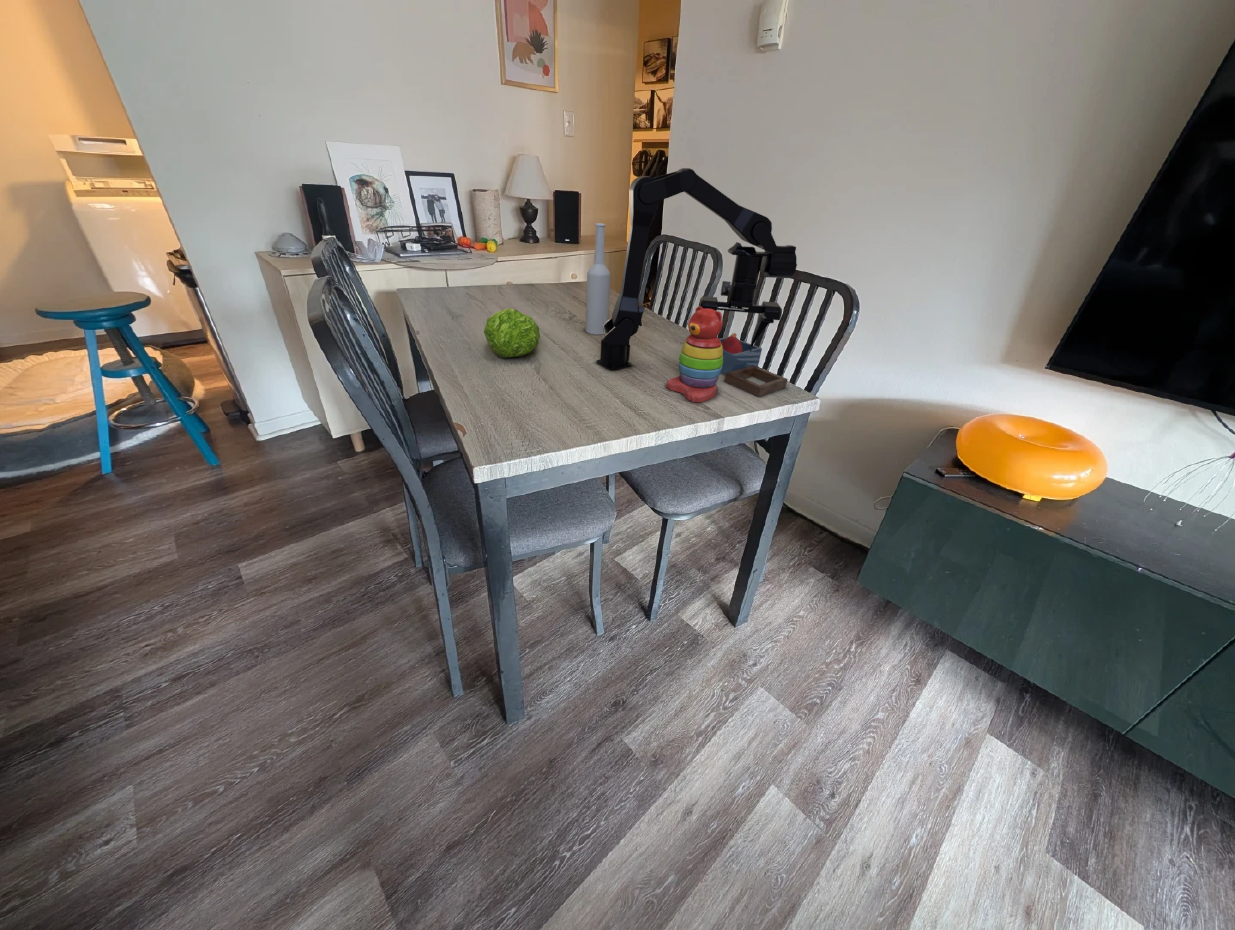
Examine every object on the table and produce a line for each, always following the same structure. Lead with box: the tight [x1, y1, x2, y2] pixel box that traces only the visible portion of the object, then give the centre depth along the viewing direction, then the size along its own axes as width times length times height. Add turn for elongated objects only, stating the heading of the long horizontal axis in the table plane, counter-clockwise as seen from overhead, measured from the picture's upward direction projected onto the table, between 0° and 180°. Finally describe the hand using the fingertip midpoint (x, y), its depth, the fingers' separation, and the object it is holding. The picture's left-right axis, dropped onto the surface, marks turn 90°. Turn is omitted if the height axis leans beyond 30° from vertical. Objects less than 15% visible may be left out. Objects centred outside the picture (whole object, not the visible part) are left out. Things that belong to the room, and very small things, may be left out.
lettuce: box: [483, 307, 541, 359], centre depth 119 cm, size 12×24×13 cm
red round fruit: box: [721, 332, 743, 354], centre depth 116 cm, size 6×6×8 cm
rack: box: [723, 365, 789, 398], centre depth 109 cm, size 10×10×2 cm
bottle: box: [585, 222, 611, 336], centre depth 130 cm, size 7×7×28 cm
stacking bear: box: [665, 305, 723, 403], centre depth 100 cm, size 11×10×18 cm
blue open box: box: [719, 336, 763, 376], centre depth 117 cm, size 10×10×6 cm
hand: (732, 343), depth 116 cm, fingers open, 9 cm apart
